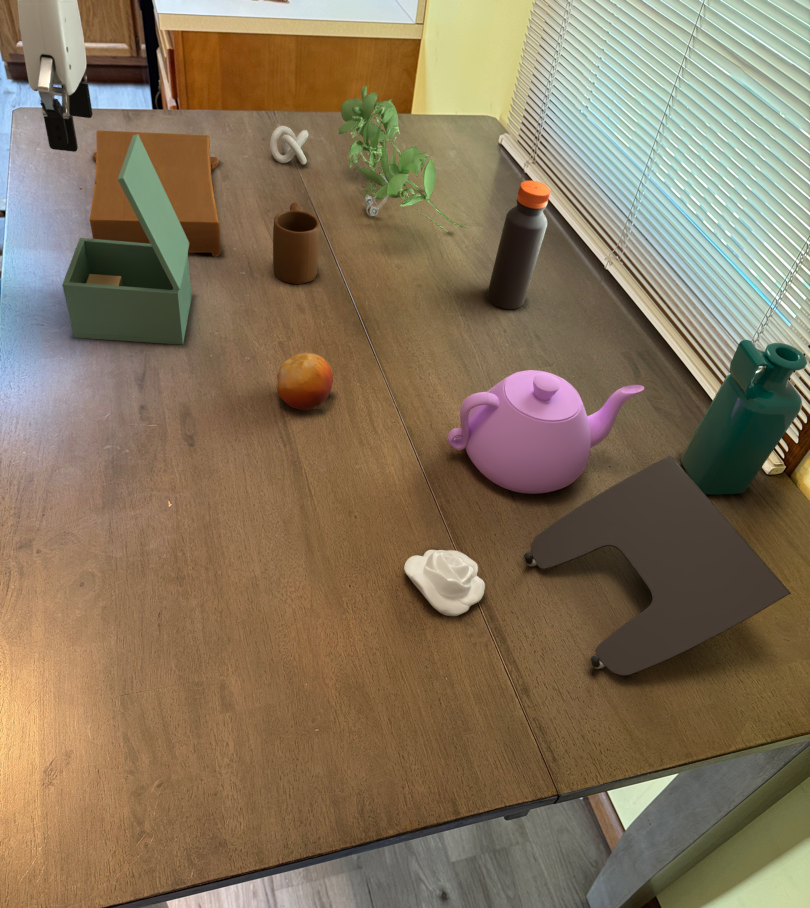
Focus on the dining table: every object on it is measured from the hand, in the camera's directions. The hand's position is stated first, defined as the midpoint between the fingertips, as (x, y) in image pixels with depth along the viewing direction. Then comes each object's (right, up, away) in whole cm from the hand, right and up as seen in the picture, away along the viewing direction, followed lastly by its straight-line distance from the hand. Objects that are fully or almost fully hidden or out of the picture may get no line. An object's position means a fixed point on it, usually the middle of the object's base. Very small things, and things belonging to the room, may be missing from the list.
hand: (72, 132), depth 98 cm
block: (-3, -17, +20) cm, 26 cm away
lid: (+7, -7, +9) cm, 13 cm away
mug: (+23, -4, +36) cm, 43 cm away
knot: (+18, +27, +61) cm, 69 cm away
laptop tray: (+70, -59, -1) cm, 91 cm away
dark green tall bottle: (+87, -42, +16) cm, 98 cm away
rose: (+47, -57, -4) cm, 74 cm away
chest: (+1, -17, +21) cm, 27 cm away
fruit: (+28, -31, +14) cm, 44 cm away
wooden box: (-3, +10, +43) cm, 44 cm away
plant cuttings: (+40, +12, +53) cm, 68 cm away
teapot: (+60, -40, +13) cm, 73 cm away
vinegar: (+60, -9, +39) cm, 72 cm away
